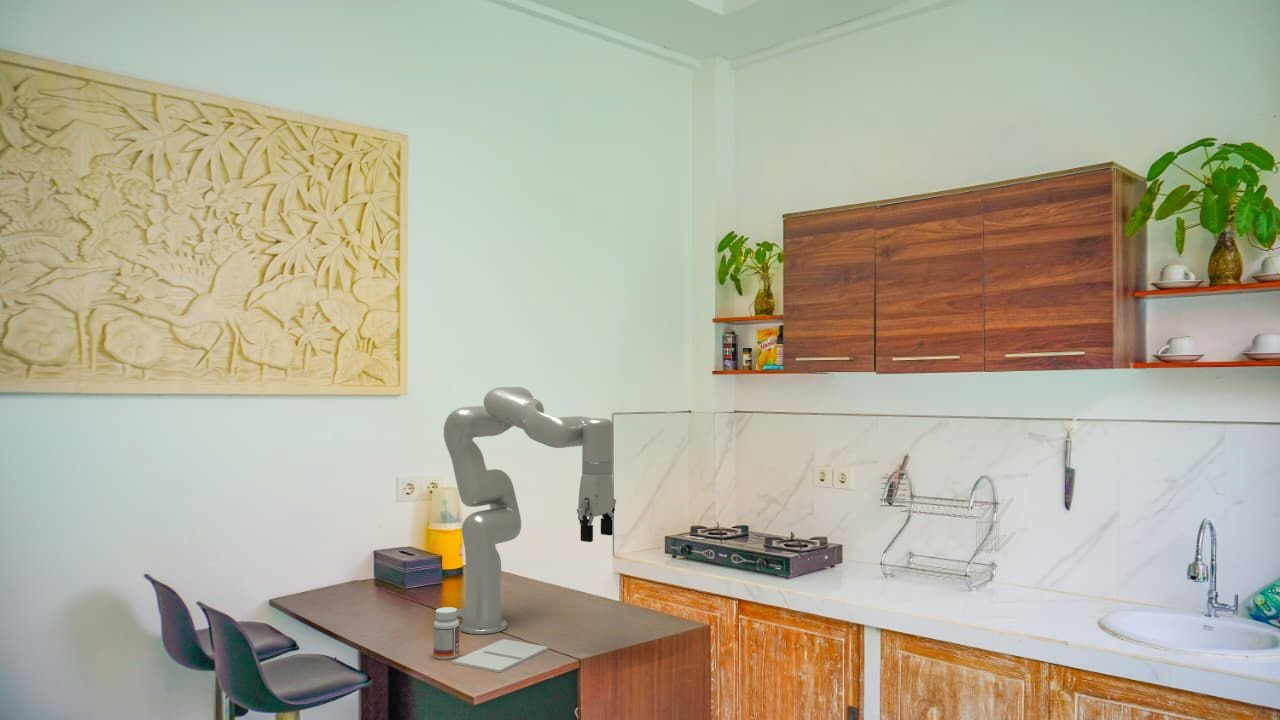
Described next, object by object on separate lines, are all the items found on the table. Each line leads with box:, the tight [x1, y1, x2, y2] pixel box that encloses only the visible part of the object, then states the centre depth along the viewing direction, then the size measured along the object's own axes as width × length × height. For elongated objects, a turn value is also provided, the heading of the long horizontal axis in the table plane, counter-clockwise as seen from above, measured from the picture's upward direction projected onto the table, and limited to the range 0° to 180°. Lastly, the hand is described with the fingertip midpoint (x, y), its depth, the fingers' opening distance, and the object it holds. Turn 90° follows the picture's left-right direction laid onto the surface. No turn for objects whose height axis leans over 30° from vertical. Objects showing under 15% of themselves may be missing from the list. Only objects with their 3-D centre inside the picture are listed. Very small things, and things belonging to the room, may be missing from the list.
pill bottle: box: [433, 606, 460, 660], centre depth 222 cm, size 6×6×11 cm
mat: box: [451, 638, 550, 674], centre depth 222 cm, size 14×20×1 cm
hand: (596, 538), depth 224 cm, fingers open, 9 cm apart
